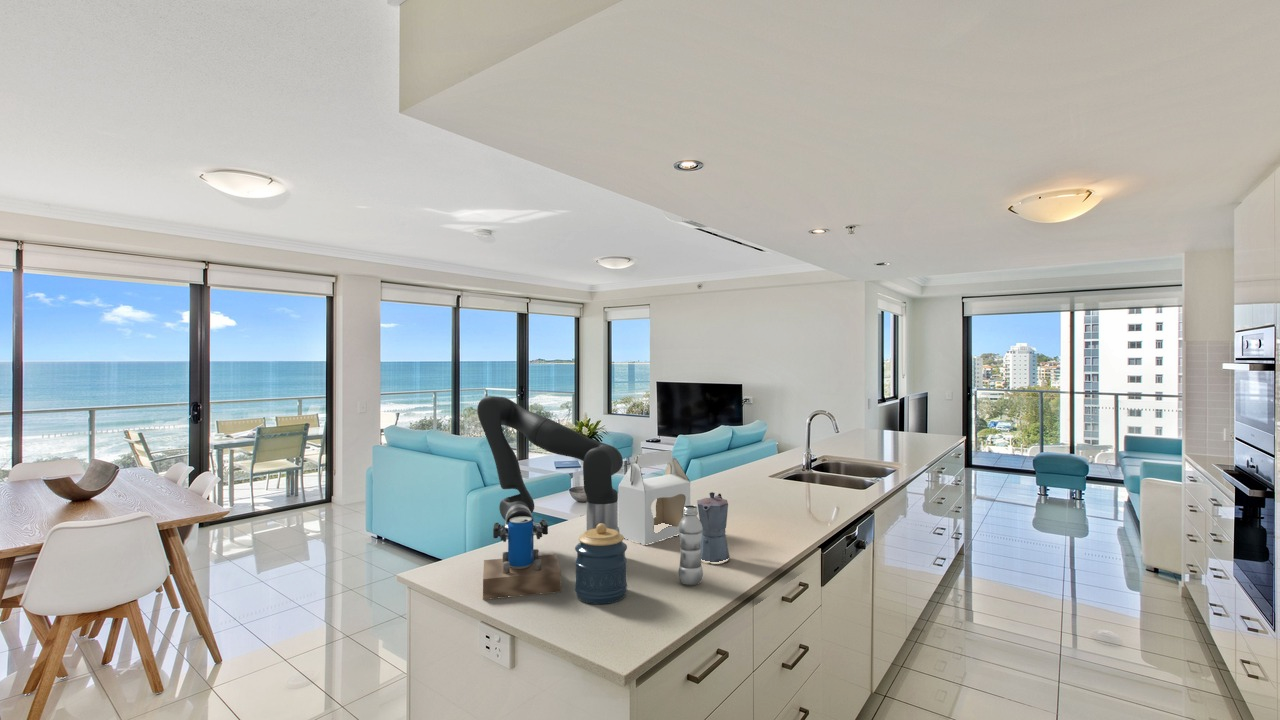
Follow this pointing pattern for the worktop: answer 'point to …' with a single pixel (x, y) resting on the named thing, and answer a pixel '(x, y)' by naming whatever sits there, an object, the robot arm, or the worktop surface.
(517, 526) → the beverage can
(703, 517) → the moka pot
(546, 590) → the peg board
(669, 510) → the gable box
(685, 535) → the plastic bottle
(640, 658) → the worktop surface
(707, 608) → the worktop surface
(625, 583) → the canister
